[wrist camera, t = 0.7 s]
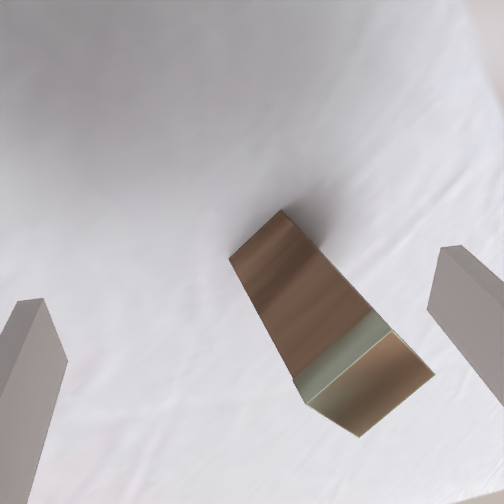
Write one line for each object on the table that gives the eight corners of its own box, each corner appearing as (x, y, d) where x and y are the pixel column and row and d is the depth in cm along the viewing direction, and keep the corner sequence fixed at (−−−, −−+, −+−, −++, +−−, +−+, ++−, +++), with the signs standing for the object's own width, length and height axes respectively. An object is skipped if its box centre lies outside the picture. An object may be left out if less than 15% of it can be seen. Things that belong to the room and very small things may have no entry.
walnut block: (227, 259, 30) (305, 404, 19) (280, 208, 29) (391, 329, 18) (270, 294, 32) (359, 437, 22) (319, 249, 32) (435, 374, 21)
